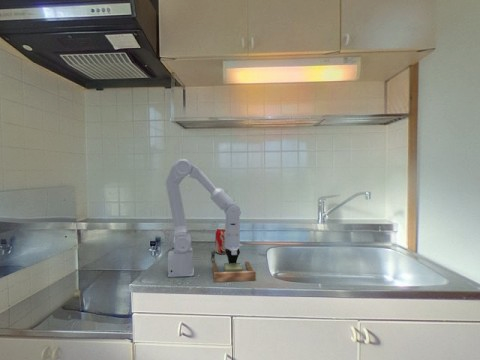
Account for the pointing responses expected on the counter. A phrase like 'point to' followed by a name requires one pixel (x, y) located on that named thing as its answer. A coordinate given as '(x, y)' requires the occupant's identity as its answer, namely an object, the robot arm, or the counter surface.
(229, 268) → the box
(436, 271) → the counter surface
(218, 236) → the soda can
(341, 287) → the counter surface
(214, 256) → the crank handle
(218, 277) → the bay
